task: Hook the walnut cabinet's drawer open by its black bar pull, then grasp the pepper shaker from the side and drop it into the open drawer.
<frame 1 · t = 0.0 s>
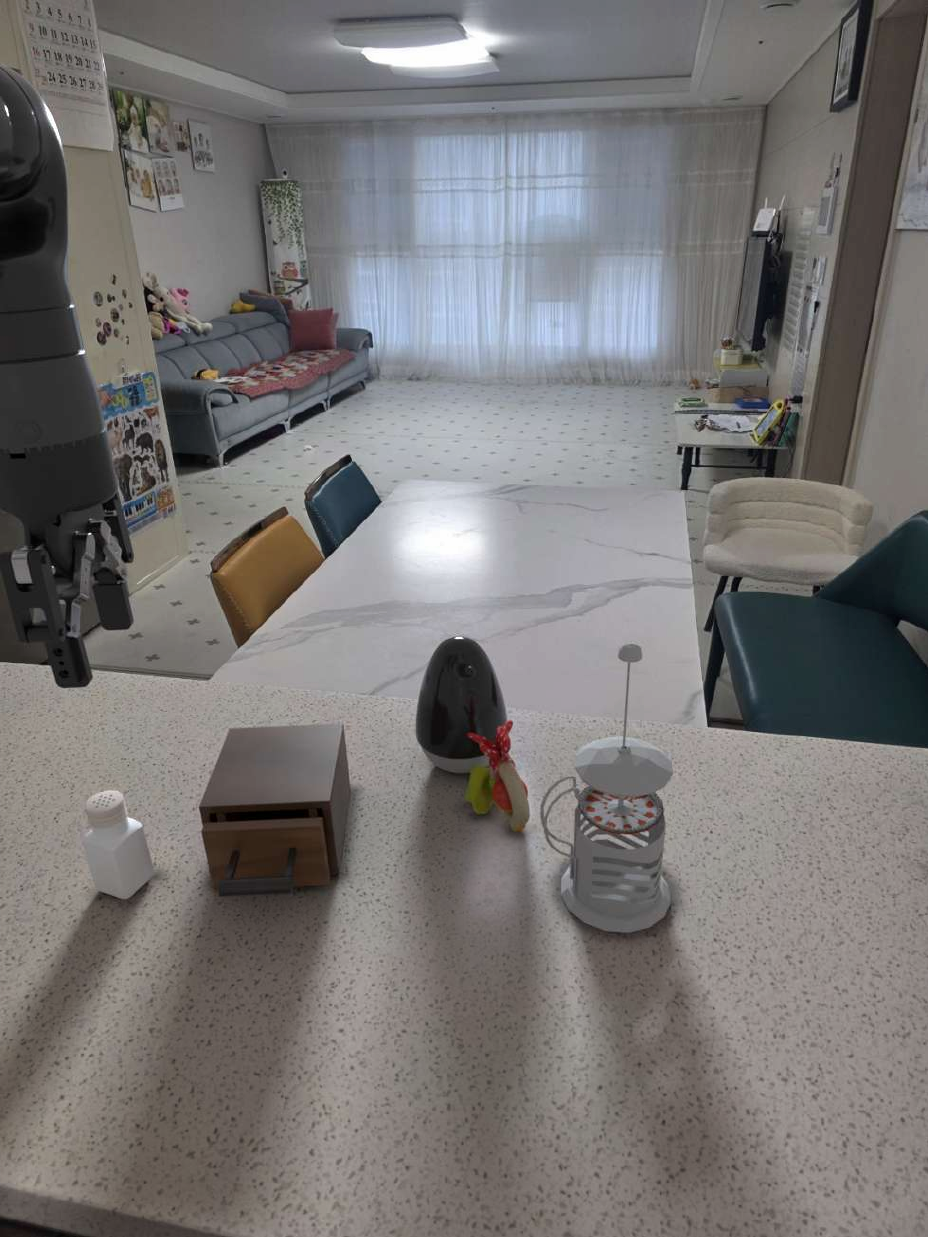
hand: (98, 654, 59), 27 cm above the table, tool pointing down, fingers open, 8 cm apart
drawer: (272, 833, 76), point 4 cm above the table, slide at 1.0 cm
french press: (605, 892, 74), on the table
cabinet: (287, 832, 82), on the table
pepper shaker: (126, 884, 77), on the table
black egg-shaped device: (463, 761, 93), on the table
bird rattle: (506, 817, 84), on the table
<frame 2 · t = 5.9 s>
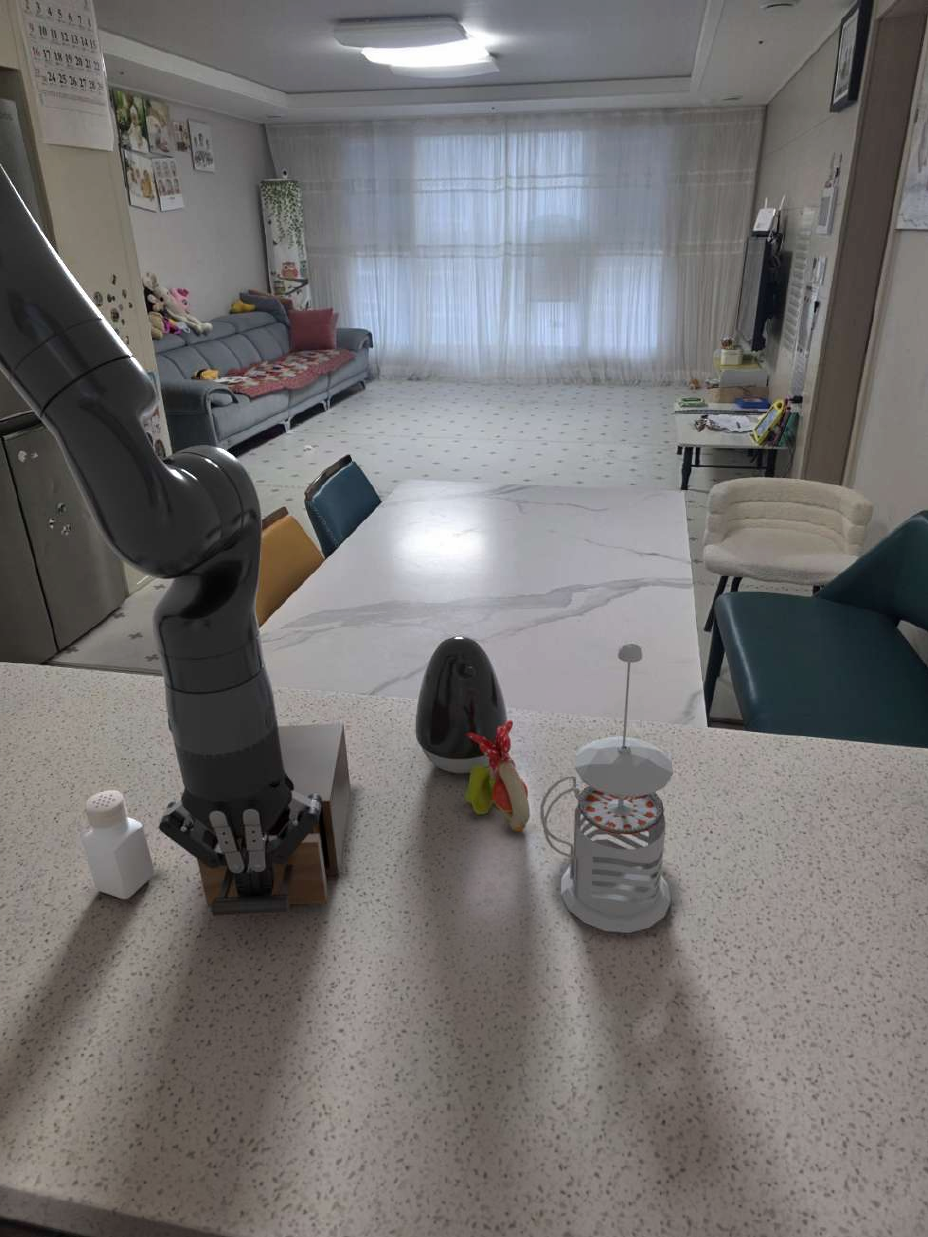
hand: (257, 896, 69), 4 cm above the table, tool pointing down, fingers closed
drawer: (268, 849, 74), point 4 cm above the table, slide at 3.1 cm, touching gripper
everything else where it was.
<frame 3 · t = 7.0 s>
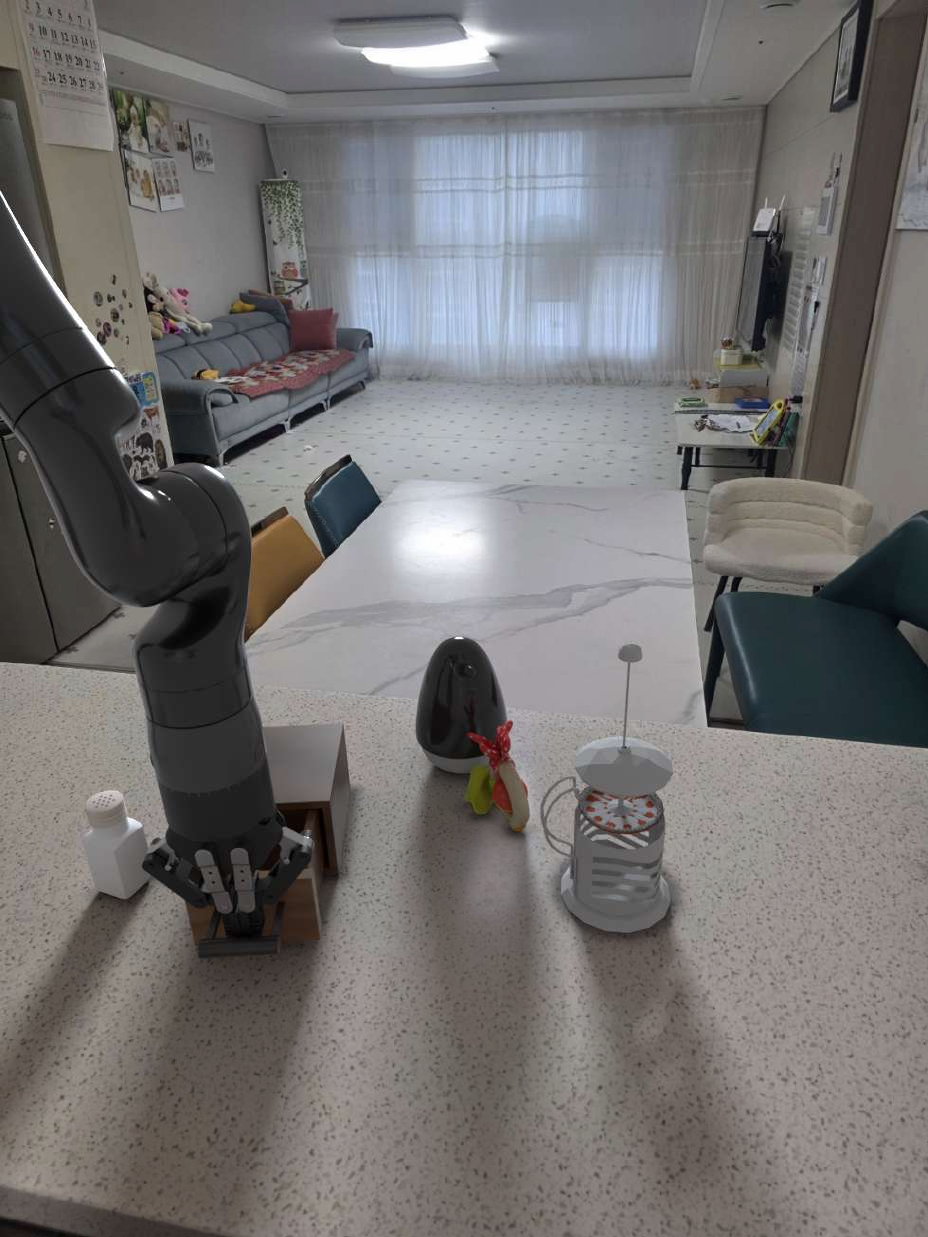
hand: (247, 937, 65), 4 cm above the table, tool pointing down, fingers closed
drawer: (259, 884, 70), point 4 cm above the table, slide at 7.4 cm, touching gripper
everything else where it was.
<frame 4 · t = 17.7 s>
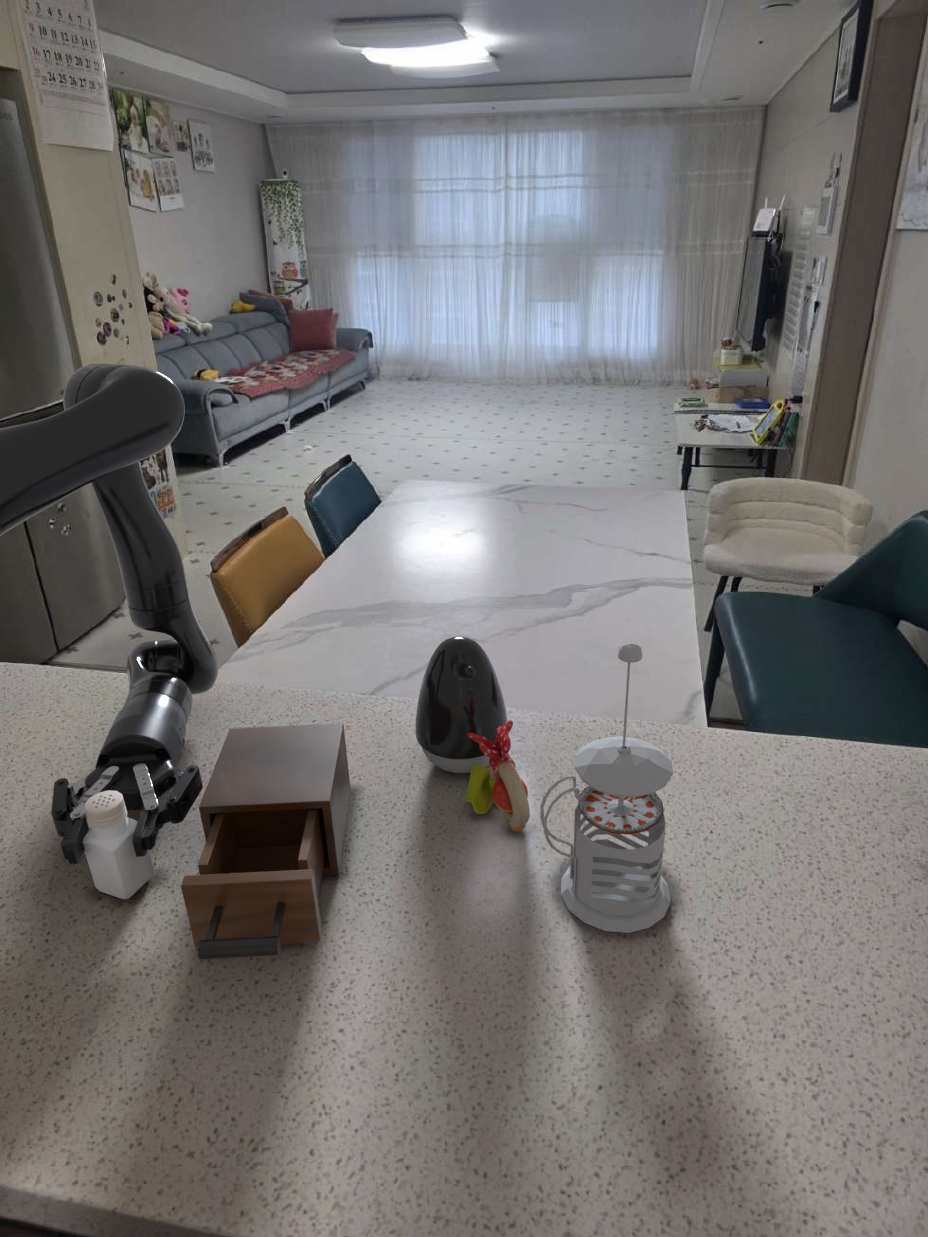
hand: (105, 852, 72), 6 cm above the table, tool horizontal, fingers closed on pepper shaker, 5 cm apart
drawer: (259, 885, 70), point 4 cm above the table, slide at 7.5 cm
pepper shaker: (126, 884, 77), on the table, touching gripper
everything else where it was.
when the fingers open (13 cm above the table, at t = 24.3 s): pepper shaker drops 5 cm, resting on drawer.
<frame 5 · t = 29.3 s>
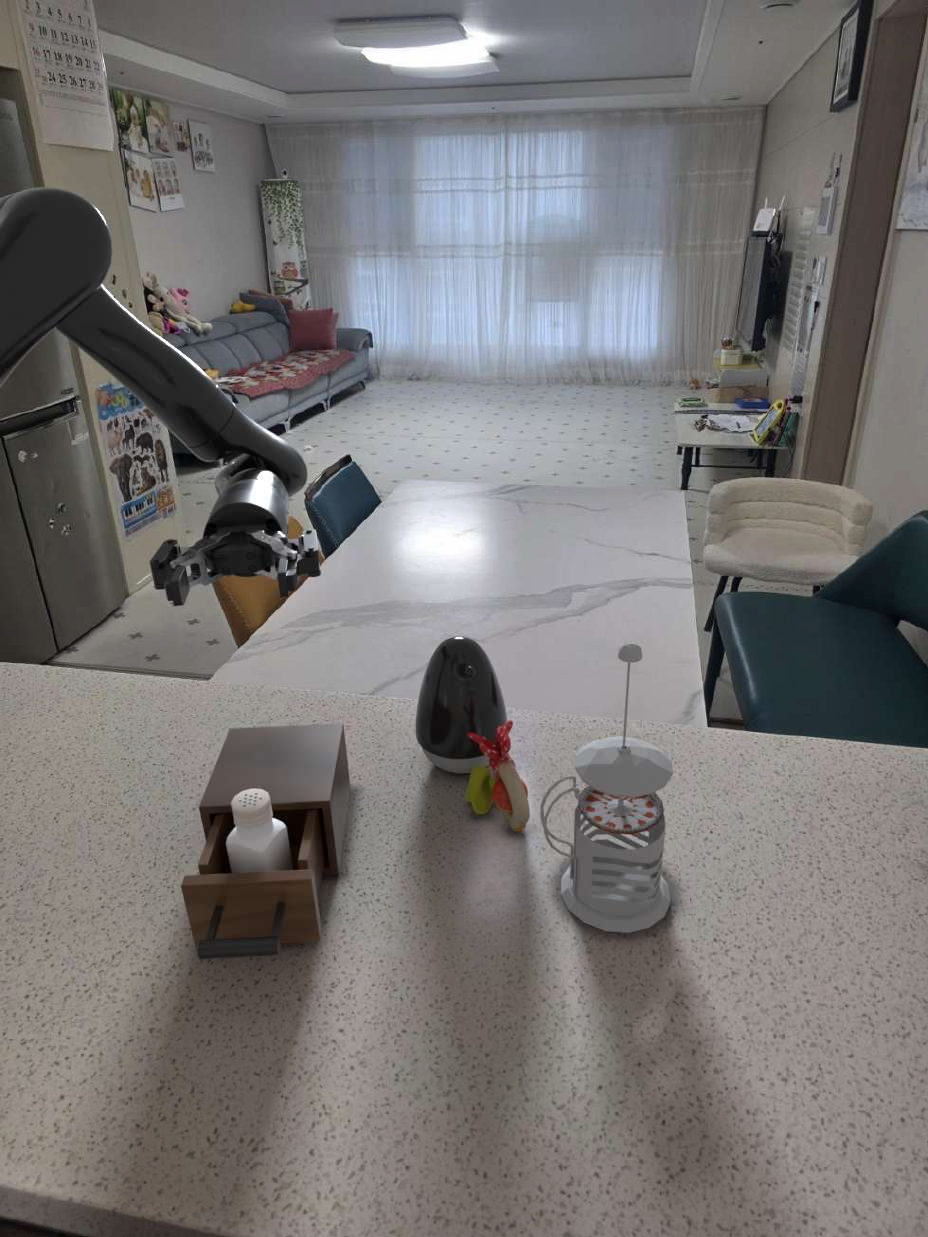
hand: (230, 591, 67), 28 cm above the table, tool horizontal, fingers open, 8 cm apart
drawer: (259, 885, 70), point 4 cm above the table, slide at 7.5 cm, touching pepper shaker
pepper shaker: (265, 887, 73), point 2 cm above the table, touching drawer
everything else where it was.
at the end: drawer slide at 7.5 cm; pepper shaker inside the target area in the drawer (3.9 cm from its centre), point 1.8 cm above the cabinet's base; the gripper is holding nothing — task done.
